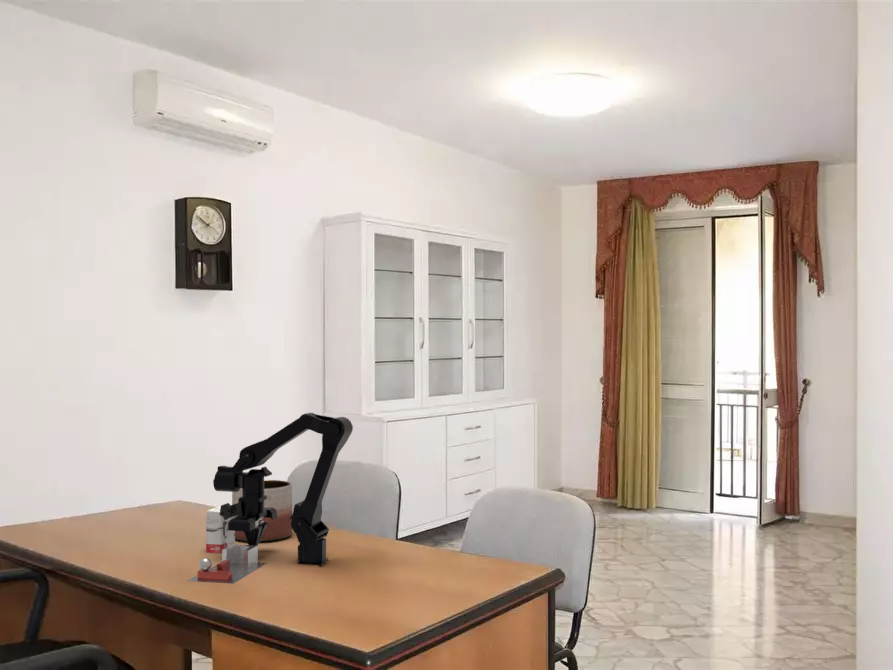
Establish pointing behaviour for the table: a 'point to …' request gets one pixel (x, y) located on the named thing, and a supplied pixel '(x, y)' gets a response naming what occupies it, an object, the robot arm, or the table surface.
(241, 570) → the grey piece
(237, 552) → the block
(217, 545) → the ink box
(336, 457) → the robot arm
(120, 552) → the table surface
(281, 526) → the planter
